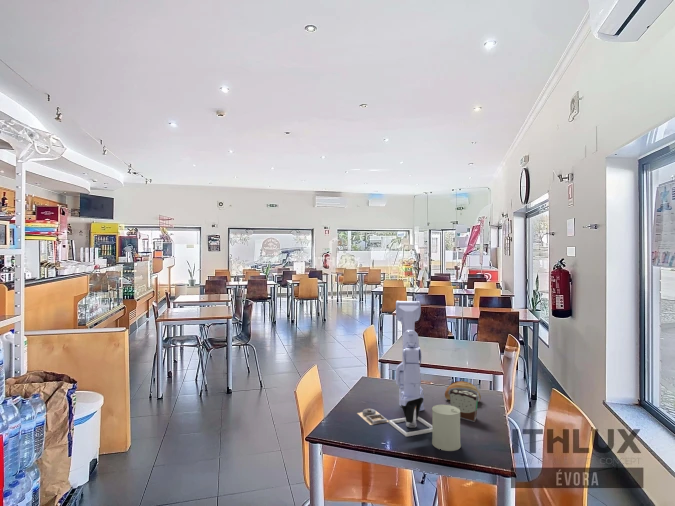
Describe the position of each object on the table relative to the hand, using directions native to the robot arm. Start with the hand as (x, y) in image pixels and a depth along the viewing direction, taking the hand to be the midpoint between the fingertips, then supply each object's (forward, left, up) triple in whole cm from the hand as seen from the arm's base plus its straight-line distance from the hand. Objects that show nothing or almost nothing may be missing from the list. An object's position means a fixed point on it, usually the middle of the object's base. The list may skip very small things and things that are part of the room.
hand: (411, 420), depth 144 cm
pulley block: (+9, -13, -4) cm, 16 cm away
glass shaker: (0, 0, -2) cm, 2 cm away
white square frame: (0, 0, -4) cm, 4 cm away
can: (-5, +13, -4) cm, 15 cm away
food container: (-27, -4, -4) cm, 28 cm away
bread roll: (-37, -19, -4) cm, 42 cm away
